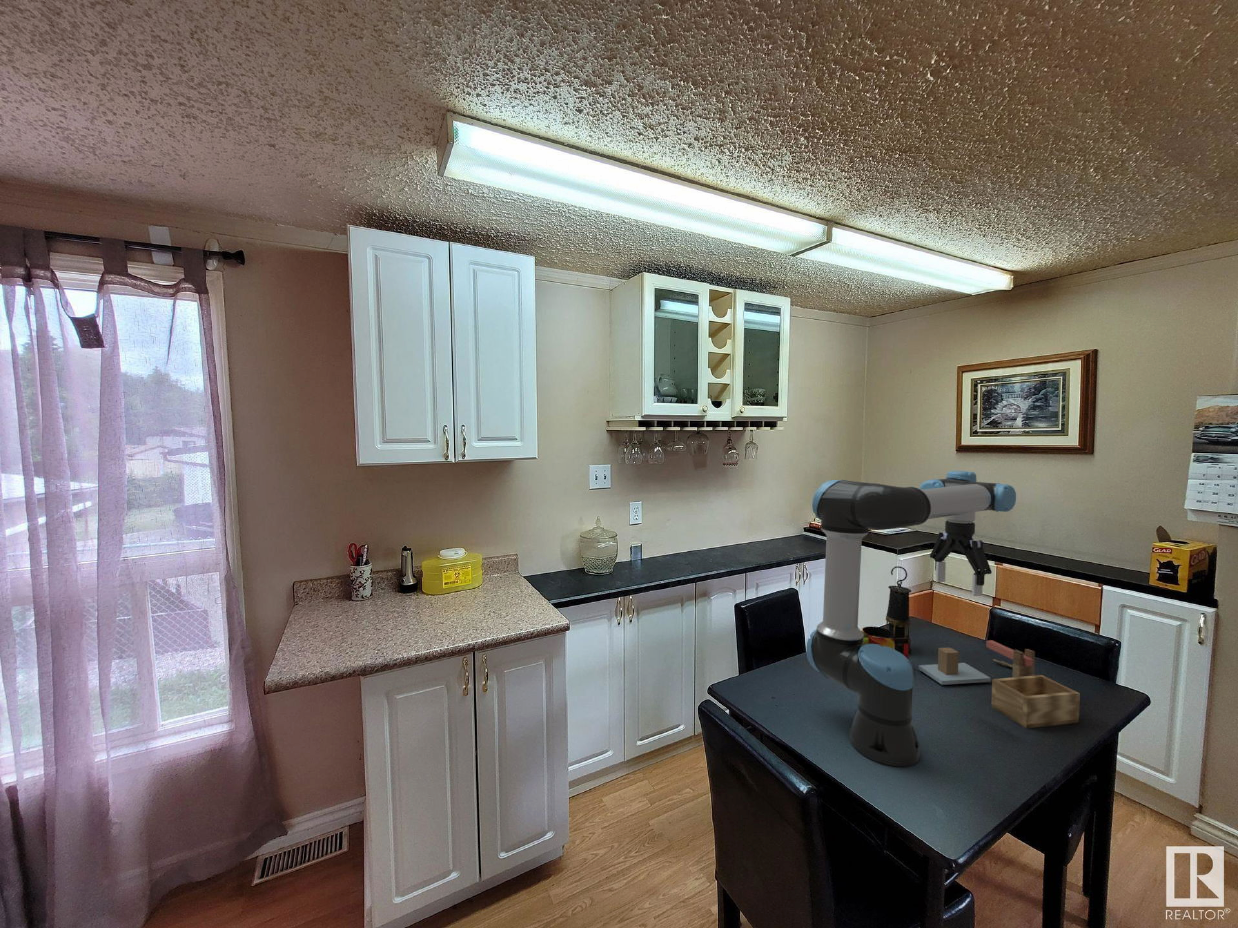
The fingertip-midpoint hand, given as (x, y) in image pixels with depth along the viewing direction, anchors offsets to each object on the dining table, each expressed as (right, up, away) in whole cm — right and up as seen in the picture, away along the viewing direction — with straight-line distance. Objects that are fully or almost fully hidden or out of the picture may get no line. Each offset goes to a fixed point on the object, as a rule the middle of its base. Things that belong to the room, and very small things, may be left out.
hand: (957, 588), depth 150 cm
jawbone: (+19, -29, +1) cm, 35 cm away
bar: (+12, -19, -5) cm, 23 cm away
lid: (0, -28, +2) cm, 28 cm away
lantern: (-7, -28, +22) cm, 36 cm away
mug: (-19, -29, +10) cm, 36 cm away
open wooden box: (+8, -30, -18) cm, 36 cm away
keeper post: (+13, -29, -9) cm, 33 cm away
